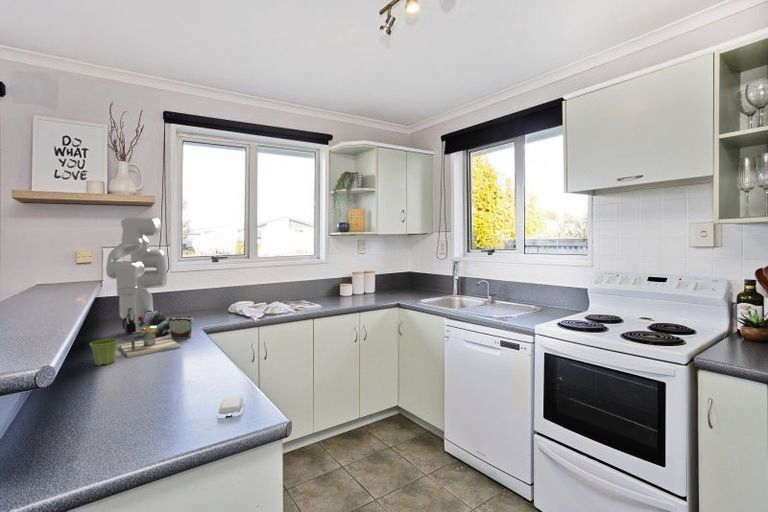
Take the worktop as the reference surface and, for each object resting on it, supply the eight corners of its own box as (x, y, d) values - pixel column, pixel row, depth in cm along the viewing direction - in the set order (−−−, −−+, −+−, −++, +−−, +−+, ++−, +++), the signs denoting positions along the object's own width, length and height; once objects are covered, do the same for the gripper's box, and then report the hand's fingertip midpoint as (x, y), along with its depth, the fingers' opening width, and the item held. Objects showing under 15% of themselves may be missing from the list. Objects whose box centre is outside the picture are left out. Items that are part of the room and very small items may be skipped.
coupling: (125, 336, 172) (125, 322, 171) (124, 332, 179) (123, 319, 179) (158, 332, 179) (158, 318, 179) (155, 328, 186) (155, 315, 186)
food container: (199, 335, 203) (198, 315, 203) (192, 338, 197) (191, 317, 196) (175, 334, 204) (175, 315, 204) (168, 337, 198) (167, 317, 198)
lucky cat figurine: (158, 337, 198) (141, 314, 196) (144, 344, 203) (128, 321, 201) (181, 322, 211) (166, 300, 209) (167, 329, 217) (152, 307, 214)
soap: (221, 406, 119) (220, 396, 119) (245, 404, 120) (245, 394, 120) (215, 420, 110) (215, 410, 110) (242, 417, 112) (241, 407, 111)
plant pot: (85, 365, 158) (84, 343, 157) (111, 358, 166) (110, 337, 166) (98, 368, 153) (97, 346, 153) (124, 361, 162) (123, 340, 161)
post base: (119, 347, 182) (119, 331, 182) (168, 339, 195) (168, 324, 195) (127, 357, 167) (126, 340, 167) (180, 347, 180) (179, 332, 180)
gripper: (114, 290, 179) (116, 328, 180) (120, 294, 166) (122, 335, 167) (133, 288, 184) (135, 325, 185) (141, 292, 171) (143, 332, 172)
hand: (129, 330), depth 176 cm, fingers open, 9 cm apart
